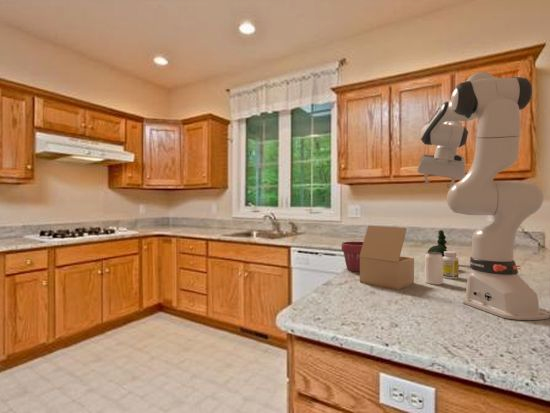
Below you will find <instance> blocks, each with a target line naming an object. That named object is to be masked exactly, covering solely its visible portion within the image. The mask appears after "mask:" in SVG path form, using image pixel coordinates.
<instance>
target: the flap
mask: <svg viewBox="0 0 550 413" xmlns="http://www.w3.org/2000/svg"><path fill="white" fill-rule="evenodd" d="M406 233H407V227H397V226H395V227H394V226H379V225H367V229H366V232H365V235H364V238H363V241H362V242H363V245H362V249H361V252H360V256H359V257H362V258H369V259H376V260H383V261H390V262H399V258H400V256H401V253H402V249H403V245H404V241H405V237H406Z"/></svg>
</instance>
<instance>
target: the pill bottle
mask: <svg viewBox="0 0 550 413" xmlns="http://www.w3.org/2000/svg"><path fill="white" fill-rule="evenodd" d="M444 255H445V256H444V257H443V279H449V280H457V279H459V258H458V257H457V251H453V250H452V251H451V250H447V251H444Z"/></svg>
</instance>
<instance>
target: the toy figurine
mask: <svg viewBox="0 0 550 413" xmlns="http://www.w3.org/2000/svg"><path fill="white" fill-rule="evenodd" d="M446 238H447V237H446V235H445V232H444V231H443V230H442V229H440V230H438V236H437V241H436V243H437V245H433V246H431V247H429V249H428V250H427V252H438V253H442V257H444V256H445V255H444V251H448V250H447V249H448V247H447V245H446V244H447V243H448V242H447V241H446Z"/></svg>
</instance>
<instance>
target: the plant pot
mask: <svg viewBox="0 0 550 413" xmlns="http://www.w3.org/2000/svg"><path fill="white" fill-rule="evenodd" d="M363 242H364V241H345V242H342V243H341V252H343V256H344V262H345V264H346V266H345V267H346V270H347V269H348V271H350V272H360V257H359V256H360V252H361V249H362V245H363Z"/></svg>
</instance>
